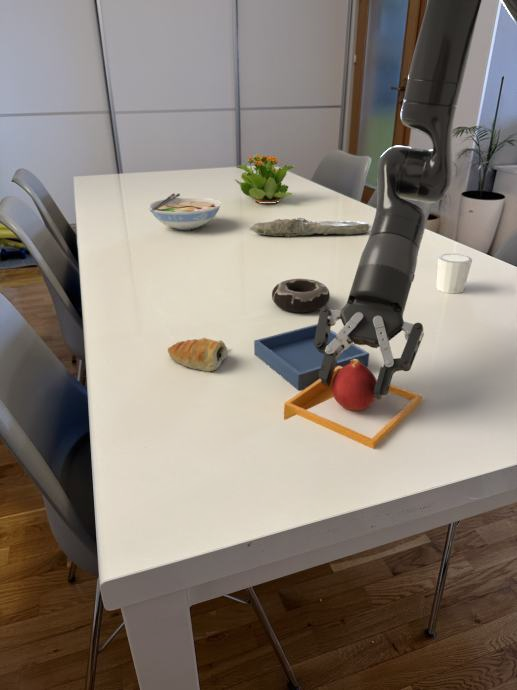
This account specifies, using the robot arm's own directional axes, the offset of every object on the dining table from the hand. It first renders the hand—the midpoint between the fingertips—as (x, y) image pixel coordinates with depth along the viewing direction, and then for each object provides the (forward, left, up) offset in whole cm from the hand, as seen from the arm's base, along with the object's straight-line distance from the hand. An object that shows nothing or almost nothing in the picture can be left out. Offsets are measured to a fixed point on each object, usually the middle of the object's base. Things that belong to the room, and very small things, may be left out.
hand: (350, 390), depth 66 cm
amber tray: (-2, -1, -5) cm, 5 cm away
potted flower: (-82, -120, -5) cm, 145 cm away
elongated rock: (-62, -75, -5) cm, 97 cm away
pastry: (+6, -27, -5) cm, 28 cm away
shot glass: (-54, -21, -5) cm, 58 cm away
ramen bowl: (-38, -106, -5) cm, 112 cm away
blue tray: (-8, -16, -5) cm, 18 cm away
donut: (-23, -35, -5) cm, 42 cm away
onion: (-2, -1, -4) cm, 5 cm away
